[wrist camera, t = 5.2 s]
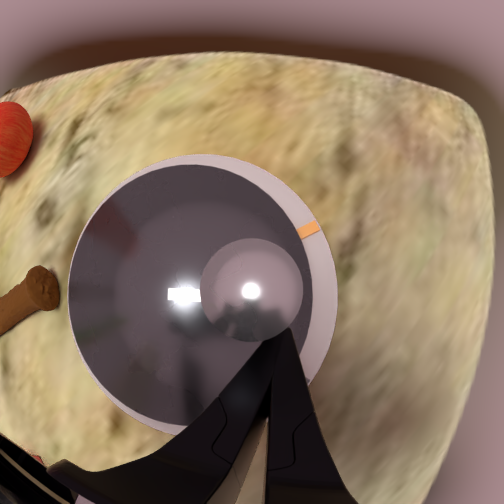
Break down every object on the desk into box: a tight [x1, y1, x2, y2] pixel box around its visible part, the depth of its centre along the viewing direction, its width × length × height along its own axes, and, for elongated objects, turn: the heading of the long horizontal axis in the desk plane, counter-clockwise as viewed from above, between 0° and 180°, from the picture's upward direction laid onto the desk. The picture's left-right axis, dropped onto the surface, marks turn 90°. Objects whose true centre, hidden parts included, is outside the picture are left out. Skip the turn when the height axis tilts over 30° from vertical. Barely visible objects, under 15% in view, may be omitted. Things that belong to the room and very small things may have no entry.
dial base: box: [67, 154, 338, 435], centre depth 17 cm, size 18×18×1 cm
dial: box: [68, 164, 313, 426], centre depth 12 cm, size 15×15×9 cm
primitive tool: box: [0, 265, 59, 335], centre depth 19 cm, size 19×6×4 cm, turn 114°
